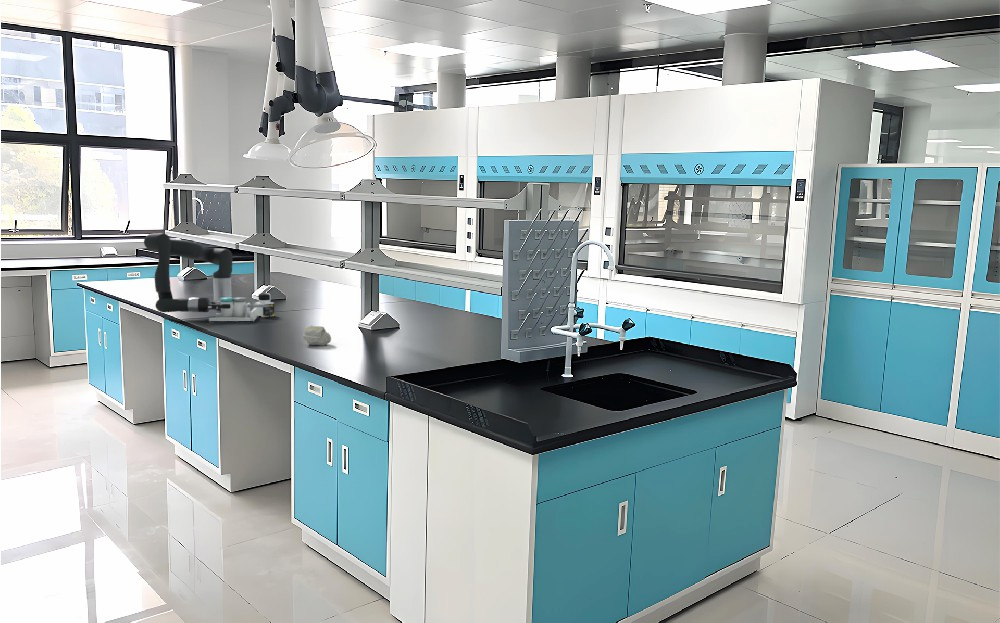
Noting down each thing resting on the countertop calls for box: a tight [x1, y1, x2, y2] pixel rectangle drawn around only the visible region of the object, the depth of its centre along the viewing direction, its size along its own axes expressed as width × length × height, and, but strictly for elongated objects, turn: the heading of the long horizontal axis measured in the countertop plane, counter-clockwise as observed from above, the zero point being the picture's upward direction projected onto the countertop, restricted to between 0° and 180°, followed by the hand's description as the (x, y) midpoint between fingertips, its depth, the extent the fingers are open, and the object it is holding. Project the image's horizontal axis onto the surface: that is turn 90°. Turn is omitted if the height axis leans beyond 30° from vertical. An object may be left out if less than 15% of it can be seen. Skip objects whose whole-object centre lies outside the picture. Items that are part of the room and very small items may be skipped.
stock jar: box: [232, 296, 247, 317], centre depth 390 cm, size 6×6×11 cm
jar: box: [220, 296, 234, 317], centre depth 389 cm, size 6×6×11 cm
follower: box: [245, 302, 269, 317], centre depth 392 cm, size 10×11×8 cm
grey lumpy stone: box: [302, 325, 332, 347], centre depth 336 cm, size 12×8×10 cm
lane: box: [208, 307, 258, 322], centre depth 391 cm, size 16×21×5 cm
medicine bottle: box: [254, 292, 275, 318], centre depth 403 cm, size 7×7×12 cm
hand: (231, 305), depth 390 cm, fingers open, 8 cm apart
